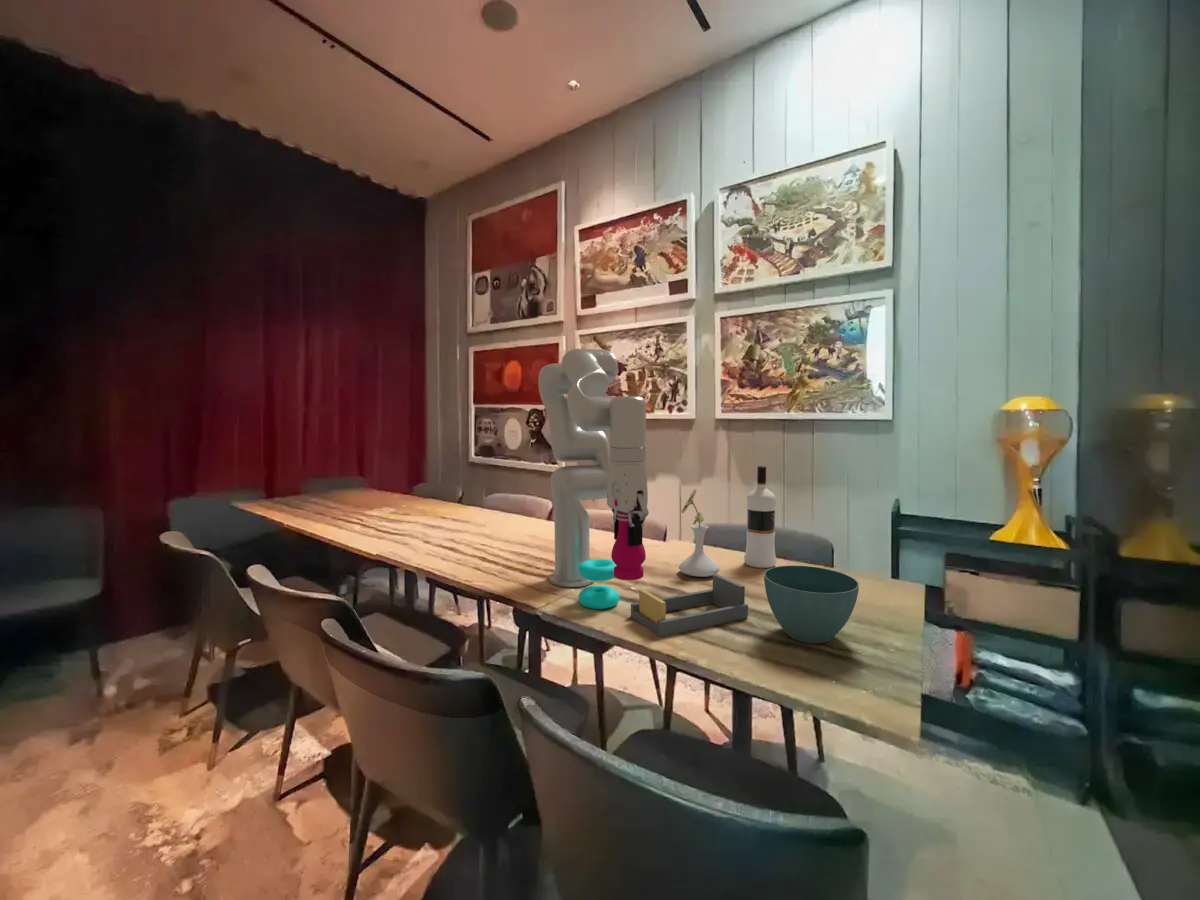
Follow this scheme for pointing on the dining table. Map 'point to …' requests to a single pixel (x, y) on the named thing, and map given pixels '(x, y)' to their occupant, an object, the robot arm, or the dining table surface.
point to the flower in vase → (698, 549)
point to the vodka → (760, 524)
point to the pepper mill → (627, 551)
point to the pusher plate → (651, 606)
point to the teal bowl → (810, 601)
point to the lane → (721, 594)
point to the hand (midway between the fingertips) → (628, 541)
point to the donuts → (598, 593)
